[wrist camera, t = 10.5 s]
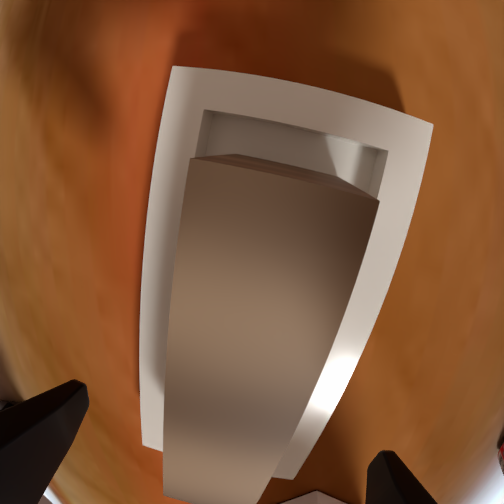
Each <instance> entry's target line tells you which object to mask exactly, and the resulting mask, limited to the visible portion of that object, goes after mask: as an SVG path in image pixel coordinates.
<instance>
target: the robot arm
mask: <svg viewBox="0 0 504 504" xmlns="http://www.w3.org/2000/svg"><path fill="white" fill-rule="evenodd" d="M88 407H89V397H88V391H87V386H86V384H85V383H83V382H80V381H78V380H75V379H74V380H70V381H68V382H66V383H64V384H62V385H59V386H57V387H55V388H53V389H50V390H48V391H46V392H44V393H41V394H39V395H37V396H35V397H32V398H30V399H28V400H25V401H23V402H21V403H18V402H9V401H0V504H38V502H39V501H40V499H41V497H42V495H43V493H44V492H45V490H46V488H47V486H48V485H49V483H50V481H51V479H52V478H53V476H54V474H55V472H56V471H57V469H58V467H59V466H60V464H61V462H62V460H63V459H64V457H65V455H66V454H67V452H68V450H69V448H70V447H71V445H72V443H73V441H74V439H75V436H76V434H77V432H78V429H79V427H80V425H81V423H82V420H83V418H84V416H85V414H86V412H87V410H88ZM365 504H437V502H436V501H435V500H434V499H433V498H432V496H431V495H430V494H429V493H428V492H427V490H426V489H425V488H424V487H423V486H422V484H421V483H420V482H419V481H418V480H417V478H416V477H415V476H414V475H413V474H412V472H411V471H410V470H409V469H408V468H407V466H406V465H405V464H404V463H403V462H402V460H401V459H400V458H399V457H398V456H397V454H396V453H395V452H394V451H391V450H382V451H380V452H379V453H378V454H377V456H376V457H375V458H374V459H373V461H372V462H371V463H370V464H369V466H368V470H367V488H366V502H365Z"/></svg>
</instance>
